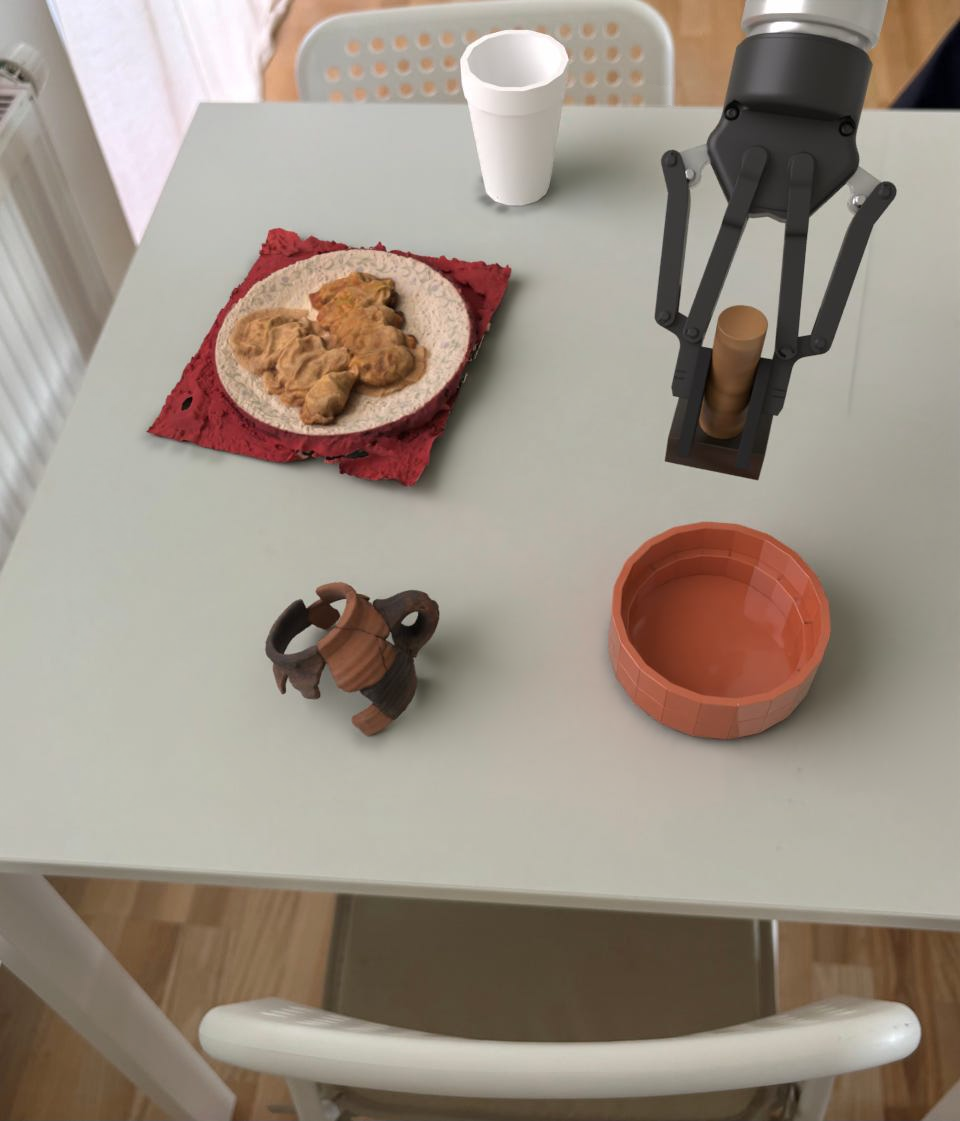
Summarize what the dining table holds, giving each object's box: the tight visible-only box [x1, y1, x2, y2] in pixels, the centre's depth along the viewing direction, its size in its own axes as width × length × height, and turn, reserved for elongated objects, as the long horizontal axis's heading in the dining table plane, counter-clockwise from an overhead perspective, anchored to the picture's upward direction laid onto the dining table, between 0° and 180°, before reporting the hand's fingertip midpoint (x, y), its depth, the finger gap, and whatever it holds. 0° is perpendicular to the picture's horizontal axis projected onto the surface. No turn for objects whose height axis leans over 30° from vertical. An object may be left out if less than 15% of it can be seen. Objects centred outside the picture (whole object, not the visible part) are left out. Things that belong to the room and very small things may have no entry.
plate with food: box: [145, 227, 512, 487], centre depth 94 cm, size 24×26×4 cm
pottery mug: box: [264, 581, 441, 737], centre depth 76 cm, size 12×10×8 cm
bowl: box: [607, 521, 832, 740], centre depth 75 cm, size 14×14×6 cm
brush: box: [664, 304, 774, 481], centre depth 66 cm, size 6×4×11 cm, turn 73°
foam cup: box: [459, 29, 570, 207], centre depth 102 cm, size 10×9×13 cm
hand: (712, 460), depth 66 cm, fingers closed on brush, 3 cm apart
